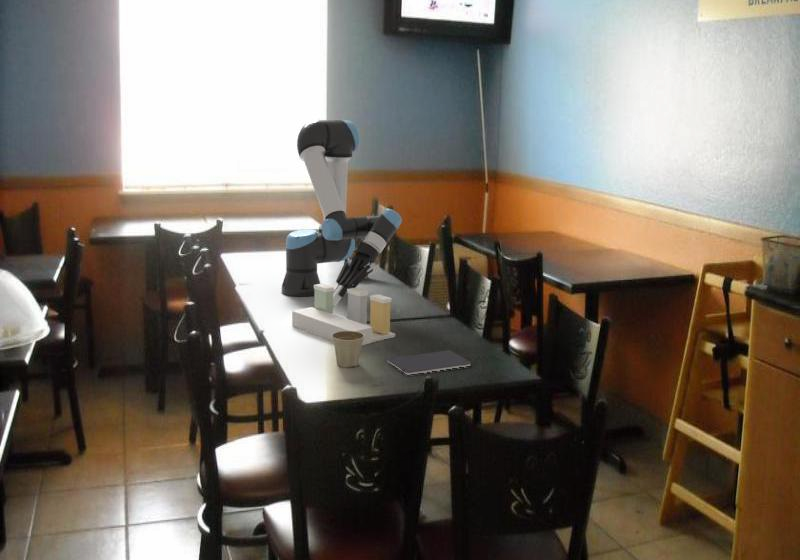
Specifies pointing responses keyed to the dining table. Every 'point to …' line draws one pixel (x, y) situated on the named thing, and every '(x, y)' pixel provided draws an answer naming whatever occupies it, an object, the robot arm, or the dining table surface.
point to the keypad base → (333, 325)
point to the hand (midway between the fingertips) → (332, 302)
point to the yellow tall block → (380, 313)
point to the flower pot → (347, 347)
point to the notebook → (428, 362)
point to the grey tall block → (357, 305)
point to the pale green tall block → (324, 297)
